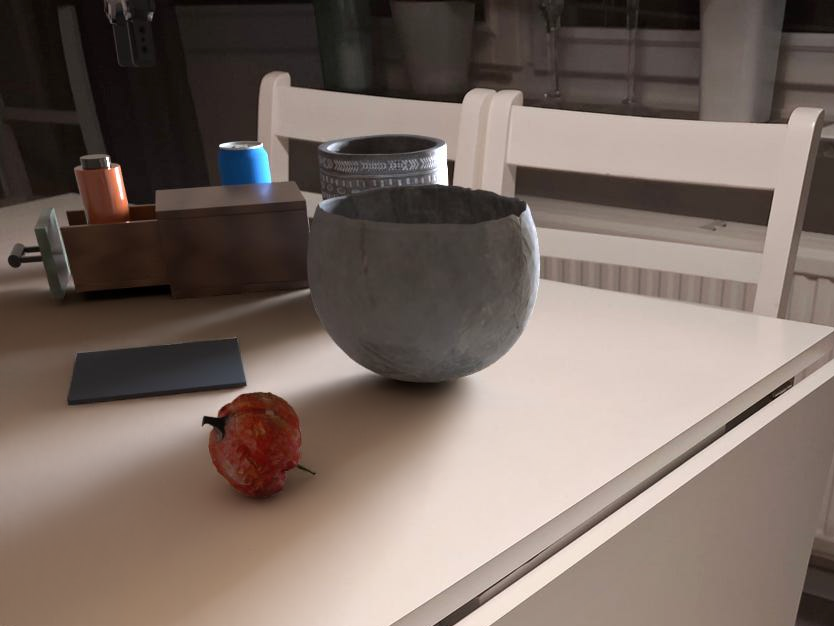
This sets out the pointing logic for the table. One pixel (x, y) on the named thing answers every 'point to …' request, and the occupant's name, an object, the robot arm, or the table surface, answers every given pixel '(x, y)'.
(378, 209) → the bowl
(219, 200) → the cabinet
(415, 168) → the planter
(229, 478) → the pomegranate
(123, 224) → the drawer
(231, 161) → the beverage can
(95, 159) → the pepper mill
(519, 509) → the table surface
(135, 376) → the mat
